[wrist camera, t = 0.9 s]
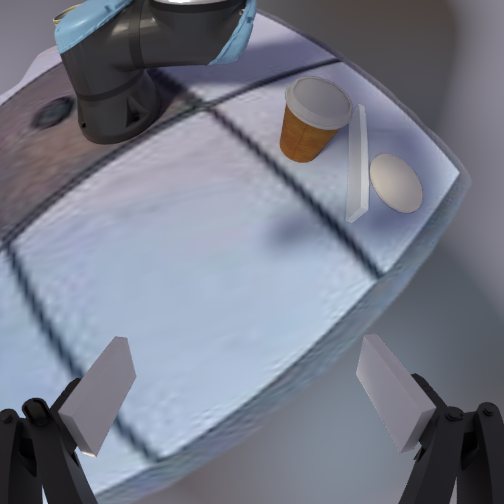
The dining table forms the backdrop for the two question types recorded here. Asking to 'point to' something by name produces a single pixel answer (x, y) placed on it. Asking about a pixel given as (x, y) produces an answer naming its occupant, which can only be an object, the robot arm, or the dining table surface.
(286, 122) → the disposable coffee cup
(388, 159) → the mat
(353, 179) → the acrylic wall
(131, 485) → the dining table surface
